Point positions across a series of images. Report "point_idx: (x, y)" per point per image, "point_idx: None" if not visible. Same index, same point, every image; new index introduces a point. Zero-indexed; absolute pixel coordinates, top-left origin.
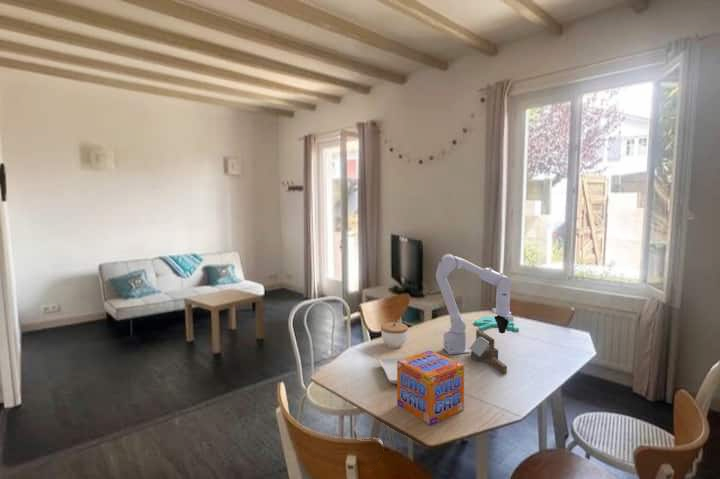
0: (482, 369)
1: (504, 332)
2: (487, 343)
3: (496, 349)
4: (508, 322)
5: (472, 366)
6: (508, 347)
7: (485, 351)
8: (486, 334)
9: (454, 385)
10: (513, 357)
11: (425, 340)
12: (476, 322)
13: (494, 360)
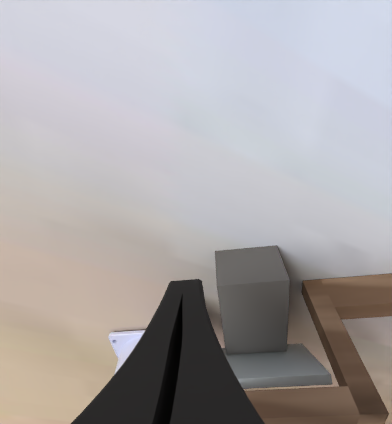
0: (361, 330)
1: (202, 286)
2: (315, 381)
3: (273, 283)
4: (247, 398)
5: (322, 349)
6: (94, 114)
7: (286, 334)
8: (269, 419)
9: None
10: (273, 157)
11: (54, 403)
12: None
13: (371, 313)
